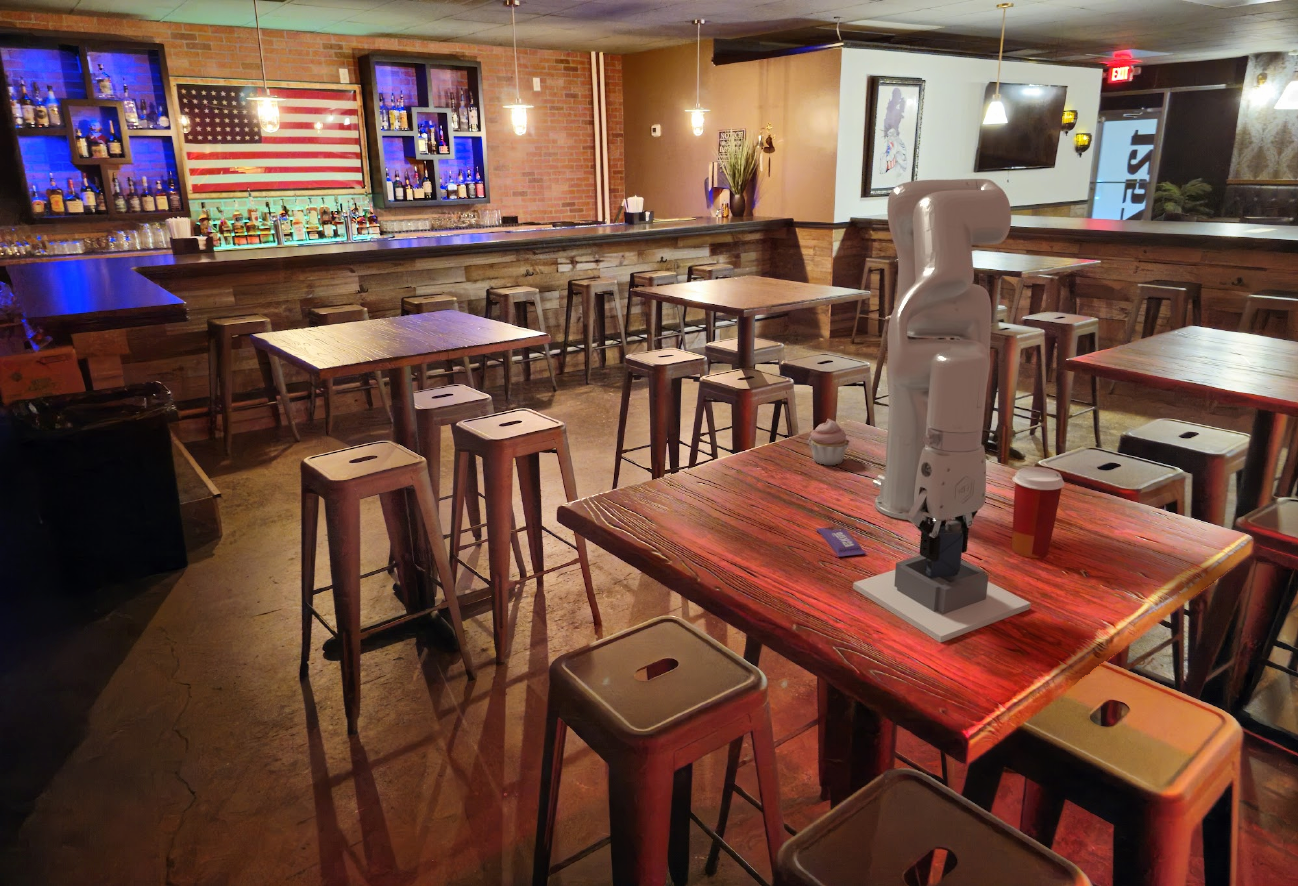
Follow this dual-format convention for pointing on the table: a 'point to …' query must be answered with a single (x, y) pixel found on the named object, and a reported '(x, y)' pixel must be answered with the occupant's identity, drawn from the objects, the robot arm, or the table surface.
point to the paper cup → (1035, 510)
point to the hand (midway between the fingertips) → (943, 552)
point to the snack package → (841, 541)
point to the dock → (941, 598)
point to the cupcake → (828, 443)
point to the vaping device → (947, 550)
